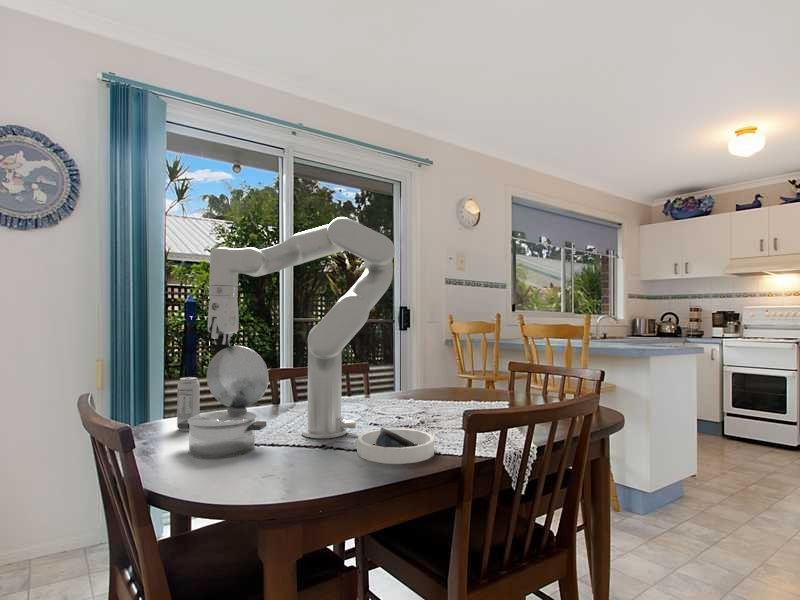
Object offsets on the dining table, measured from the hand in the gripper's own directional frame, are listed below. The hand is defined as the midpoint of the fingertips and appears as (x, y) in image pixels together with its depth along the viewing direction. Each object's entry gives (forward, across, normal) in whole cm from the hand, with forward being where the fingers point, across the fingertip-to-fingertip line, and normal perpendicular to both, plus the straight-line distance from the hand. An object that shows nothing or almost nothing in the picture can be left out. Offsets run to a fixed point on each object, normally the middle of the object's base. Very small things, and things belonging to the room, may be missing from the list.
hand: (221, 358), depth 138 cm
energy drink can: (+22, +8, +13) cm, 27 cm away
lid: (+5, -3, -6) cm, 8 cm away
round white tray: (+21, -8, -50) cm, 55 cm away
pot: (+22, -11, -6) cm, 25 cm away
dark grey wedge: (+21, -11, -51) cm, 56 cm away
